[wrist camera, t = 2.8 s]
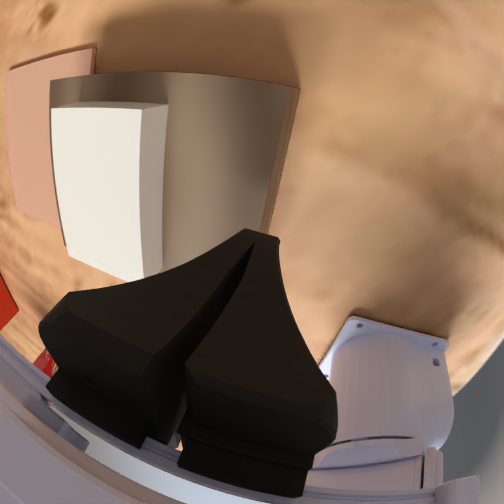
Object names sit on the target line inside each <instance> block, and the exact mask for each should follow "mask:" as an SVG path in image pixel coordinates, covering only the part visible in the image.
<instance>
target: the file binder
mask: <svg viewBox="0 0 504 504" xmlns="http://www.w3.org/2000/svg"><path fill="white" fill-rule="evenodd" d="M18 311H19V310H18V308H17V306H16V304H15V303H14V301H13V299H12V297H11V295H10V293H9V291H8V289H7V287H6V285H5V283H4V281H3V279H2V277H1V275H0V331H1V329H2V328H3V327H4V326H5V325H6V324H7V323H8V322H9V321H10V320H11V319H12V318H13V317H14V316H15V315H16V314H17V312H18Z"/></svg>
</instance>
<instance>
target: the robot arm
mask: <svg viewBox="0 0 504 504" xmlns="http://www.w3.org/2000/svg"><path fill="white" fill-rule="evenodd" d="M279 244H280V240H279V238H278V237H275V236H271V235H268V234H264V233H261V232H257V231H254V230H251V229H247V228H244V229H243V230H241V231H239V232H238V233H236V234H235V235H233V236H232V237H230V238H229V239H227V240H226V241H224V242H222V243H221V244H219V245H217V246H216V247H214V248H212V249H211V250H209V251H207V252H206V253H204V254H202V255H200V256H198V257H196V258H194V259H192V260H190V261H188V262H186V263H184V264H182V265H179V266H177V267H175V268H172V269H170V270H167V271H164V272H162V273H158V274H155V275H152V276H149V277H146V278H143V279H139V280H136V281H132V282H128V283H124V284H119V285H114V286H109V287H104V288H98V289H90V290H82V291H74V292H68V293H67V294H66V295H65V296H64V297H63V298H62V299H61V300H60V301H59V302H58V303H57V305H56V306H55V307H54V308H53V309H52V310H51V311H50V312H49V313H48V314H47V315H46V316H45V317H44V318H43V320H42V321H41V322H40V323H39V326H38V329H39V334H40V337H41V339H42V341H43V343H44V345H45V347H46V349H47V350H48V352H49V354H50V355H51V357H52V358H53V360H54V362H55V363H56V365H57V366H58V370H57V371H56V372H55V374H54V375H53V376H52V378H50V377H48V376H47V375H46V374H44V373H43V372H42V371H41V370H39V369H38V368H37V367H36V366H34V365H33V364H32V363H31V362H30V361H28V360H27V359H26V358H25V357H24V356H23V355H21V354H20V353H19V352H18V351H17V350H16V349H15V348H14V347H13V346H11V345H10V344H9V343H8V342H7V341H6V340H5V339H4V338H3V337H2V336H1V335H0V504H185V503H183V502H180V501H178V500H175V499H173V498H170V497H167V496H165V495H163V494H161V493H158V492H156V491H153V490H151V489H149V488H147V487H145V486H143V485H141V484H139V483H137V482H135V481H133V480H131V479H129V478H127V477H125V476H123V475H121V474H119V473H117V472H116V471H114V470H112V469H110V468H109V467H107V466H105V465H103V464H101V463H100V462H98V461H97V460H95V459H94V458H92V457H90V456H89V455H87V454H86V453H85V450H86V449H87V447H88V445H89V441H87V440H86V439H85V438H83V437H82V436H81V435H80V434H79V433H77V432H76V431H75V430H74V429H73V428H72V427H71V426H70V425H69V424H68V423H67V422H66V421H65V420H64V419H63V418H62V417H60V416H59V415H58V414H57V413H56V412H54V411H53V410H52V409H51V408H50V407H49V403H50V404H51V405H52V406H53V407H55V408H56V409H58V410H59V411H60V412H62V413H63V414H64V415H66V416H67V417H69V418H70V419H71V420H73V421H74V422H76V423H77V424H79V425H80V426H82V427H83V428H85V429H86V430H88V431H89V432H91V433H92V434H94V435H96V436H97V437H99V438H101V439H102V440H104V441H106V442H107V443H109V444H111V445H113V446H115V447H116V448H118V449H120V450H122V451H124V452H125V453H127V454H129V455H131V456H133V457H135V458H137V459H139V460H141V461H143V462H145V463H147V464H150V465H152V466H154V467H156V468H158V469H161V470H163V471H165V472H168V473H170V474H173V475H175V476H177V477H180V478H183V479H185V480H188V481H191V482H193V483H196V484H199V485H202V486H205V487H208V488H211V489H214V490H218V491H221V492H224V493H228V494H231V495H235V496H239V497H243V498H247V499H251V500H255V501H260V502H265V503H270V504H479V496H480V476H478V475H476V476H472V477H466V478H460V479H455V480H452V481H449V482H446V483H443V455H442V452H440V451H438V449H439V448H440V447H441V446H442V445H443V444H444V442H445V441H446V439H447V437H448V435H449V433H450V430H451V427H452V423H453V418H454V405H453V397H452V391H451V385H450V379H449V374H448V369H447V364H446V359H445V355H444V351H445V350H446V349H447V348H448V346H449V341H448V340H447V339H443V338H439V337H435V336H431V335H427V334H423V333H419V332H415V331H411V330H407V329H403V328H399V327H395V326H391V325H387V324H384V323H380V322H376V321H372V320H369V319H365V318H361V317H358V316H351V317H349V318H348V319H347V320H346V322H345V324H344V326H343V327H342V329H341V331H340V332H339V334H338V336H337V337H336V339H335V341H334V342H333V344H332V346H331V347H330V349H329V350H328V352H327V354H326V355H325V357H324V358H323V360H322V361H321V363H320V364H319V366H318V365H317V363H316V361H315V360H314V358H313V356H312V354H311V353H310V351H309V349H308V347H307V345H306V343H305V341H304V339H303V337H302V335H301V333H300V331H299V329H298V326H297V324H296V322H295V319H294V317H293V314H292V311H291V308H290V306H289V303H288V299H287V296H286V292H285V288H284V284H283V280H282V274H281V268H280V261H279ZM359 323H361V324H359ZM327 379H328V380H329V381H328V380H327ZM180 440H181V442H182V447H183V450H182V452H181V451H179V450H176V449H175V448H178V446H179V443H180Z"/></svg>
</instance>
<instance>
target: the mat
mask: <svg viewBox="0 0 504 504" xmlns="http://www.w3.org/2000/svg"><path fill="white" fill-rule="evenodd" d="M96 49H97V48H91V49H85V50H80V51H75V52H71V53H66V54H62V55H58V56H54V57H51V58H47V59H43V60H40V61H37V62H33V63H30V64H27V65H24V66H21V67H18V68H15V69H13V70H10V71H7V73H6V133H7V145H8V155H9V164H10V171H11V178H12V184H13V190H14V195H15V200H16V205H17V210H18V211H20V212H22V213H24V214H26V215H29V216H31V217H33V218H36V219H38V220H40V221H43V222H45V223H47V224H50V225H52V226H54V227H57V228H59V229H61V226H60V221H59V215H58V209H57V203H56V197H55V190H54V182H53V173H52V163H51V150H50V131H49V93H50V80H55V79H61V78H67V77H74V76H82V75H91V74H94V66H95V57H96Z"/></svg>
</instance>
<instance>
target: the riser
mask: <svg viewBox="0 0 504 504" xmlns="http://www.w3.org/2000/svg"><path fill="white" fill-rule="evenodd" d="M299 94H300V89H299V88H294V87H290V86H285V85H280V84H275V83H269V82H264V81H258V80H252V79H245V78H238V77H230V76H221V75H212V74H200V73H185V72H116V73H102V74H91V75H82V76H74V77H67V78H61V79H55V80H50V93H49V131H50V150H51V163H52V173H53V182H54V190H55V197H56V203H57V209H58V215H59V221H60V226H61V231H62V236H63V240H64V245H65V246H66V241H65V237H64V232H63V227H62V222H61V216H60V210H59V204H58V197H57V190H56V182H55V174H54V163H53V150H52V130H51V108H55V107H59V106H63V105H67V104H71V103H75V102H88V101H112V102H140V103H155V104H167V105H169V106H168V116H167V127H166V139H165V154H164V172H163V202H162V256H163V268H162V269H161V270H160V271H159V273H162V272H164V271H167V270H170V269H172V268H175V267H177V266H179V265H182V264H184V263H186V262H188V261H190V260H192V259H194V258H196V257H198V256H200V255H202V254H204V253H206V252H207V251H209V250H211V249H212V248H214V247H216V246H217V245H219V244H221V243H222V242H224V241H226V240H227V239H229V238H230V237H232V236H233V235H235V234H236V233H238V232H239V231H241V230H243V229H244V228H247V229H251V230H254V231H257V232H261V233H264V234H268V231H269V226H270V222H271V218H272V214H273V209H274V205H275V201H276V196H277V192H278V188H279V183H280V179H281V175H282V170H283V166H284V161H285V157H286V153H287V148H288V144H289V139H290V135H291V130H292V126H293V121H294V117H295V112H296V108H297V103H298V99H299ZM66 247H67V246H66Z"/></svg>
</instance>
